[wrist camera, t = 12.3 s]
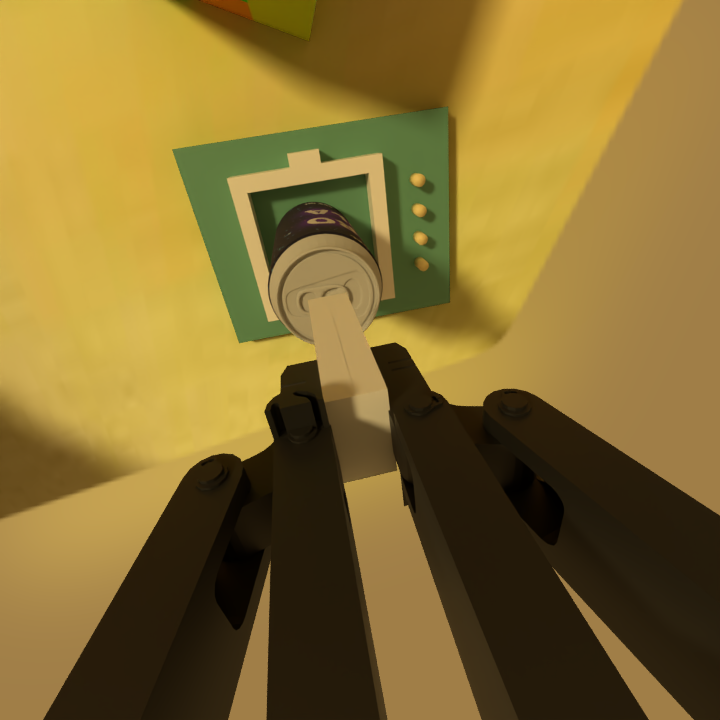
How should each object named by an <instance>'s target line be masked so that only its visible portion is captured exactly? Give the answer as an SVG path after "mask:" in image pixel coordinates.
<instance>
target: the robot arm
mask: <svg viewBox="0 0 720 720" xmlns="http://www.w3.org/2000/svg"><path fill="white" fill-rule="evenodd" d="M308 305H309V312H310V318H311V324H312V331H313V337H314V343H315V350H316V356H317V360H314V361H309V362H304V363H299V364H295V365H290V366H287V367H286V369H285V370H284V372H283V373H282V375H281V393H280V394H279V395H277V396H275V397H274V398H273V399H272V400H271V401H270V402H269V403H268V404H267V406H266V409H265V415H266V418H267V421H268V423H269V426H270V429H271V432H272V435H273V438H274V442H273V443H272V444H271V445H270V446H269V447H268V448H267V449H265V450H264V451H262V452H260V453H259V454H257V455H255V456H253V457H251V458H249V459H246V460H244V461H242V462H241V459H240V458H238V457H237V456H235V455H233V454H219V455H213V456H210V457H208V458H206V459H204V460H202V461H200V462H199V463H197V464H196V465H195V466H193V467H192V468H191V469H190V470H189V471H188V472H187V474H186V475H185V476H184V478H183V479H182V481H181V482H180V484H179V486H178V488H177V489H176V491H175V493H174V495H173V496H172V498H171V500H170V501H169V503H168V505H167V507H166V508H165V510H164V512H163V514H162V515H161V517H160V519H159V520H158V522H157V524H156V526H155V527H154V529H153V531H152V533H151V534H150V536H149V538H148V539H147V541H146V543H145V545H144V546H143V548H142V550H141V551H140V553H139V555H138V557H137V559H136V560H135V562H134V564H133V565H132V567H131V569H130V571H129V572H128V574H127V576H126V577H125V580H124V581H123V583H122V584H121V586H120V588H119V590H118V591H117V593H116V595H115V597H114V598H113V600H112V602H111V603H110V605H109V607H108V609H107V610H106V612H105V614H104V616H103V618H102V619H101V621H100V623H99V624H98V626H97V628H96V629H95V631H94V633H93V635H92V636H91V638H90V640H89V642H88V643H87V645H86V647H85V648H84V650H83V652H82V654H81V655H80V658H79V659H78V661H77V662H76V664H75V666H74V668H73V669H72V671H71V673H70V674H69V676H68V678H67V680H66V681H65V683H64V685H63V686H62V688H61V690H60V692H59V693H58V695H57V697H56V699H55V700H54V702H53V704H52V705H51V707H50V709H49V711H48V712H47V714H46V716H45V718H44V719H43V720H228V718H229V714H230V710H231V706H232V703H233V699H234V695H235V691H236V688H237V683H238V680H239V676H240V673H241V669H242V665H243V661H244V658H245V654H246V650H247V646H248V642H249V639H250V635H251V631H252V628H253V624H254V620H255V616H256V612H257V609H258V605H259V601H260V597H261V594H262V590H263V586H264V582H265V579H266V575H267V571H268V567H269V564H270V560H271V571H270V609H269V646H268V684H267V720H387V715H386V710H385V704H384V699H383V693H382V688H381V682H380V677H379V671H378V666H377V660H376V655H375V650H374V644H373V639H372V633H371V628H370V623H369V617H368V611H367V606H366V600H365V595H364V589H363V584H362V578H361V573H360V567H359V562H358V557H357V551H356V546H355V540H354V535H353V529H352V524H351V518H350V513H349V508H348V502H347V498H346V493H345V489H344V484H343V483H346V482H350V481H355V480H359V479H363V478H367V477H371V476H376V475H380V474H384V473H388V472H392V471H396V470H397V466H396V462H397V464H398V467H399V470H400V474H401V481H402V490H403V500H404V506H406V505H408V506H409V509H410V512H411V514H412V517H413V520H414V523H415V526H416V529H417V532H418V535H419V538H420V541H421V544H422V547H423V549H424V552H425V555H426V558H427V561H428V564H429V567H430V570H431V573H432V576H433V579H434V582H435V585H436V587H437V590H438V593H439V596H440V599H441V602H442V605H443V608H444V610H445V614H446V617H447V620H448V622H449V625H450V628H451V631H452V634H453V637H454V640H455V643H456V646H457V648H458V651H459V655H460V658H461V660H462V663H463V666H464V669H465V672H466V675H467V678H468V681H469V684H470V687H471V689H472V693H473V696H474V698H475V701H476V704H477V707H478V710H479V713H480V716H481V719H482V720H649V719H648V718H647V716H646V715H645V713H644V712H643V710H642V708H641V707H640V705H639V704H638V702H637V700H636V699H635V697H634V696H633V694H632V693H631V691H630V690H629V688H628V686H627V685H626V683H625V682H624V680H623V679H622V677H621V675H620V674H619V672H618V670H617V669H616V667H615V666H614V664H613V663H612V661H611V659H610V658H609V656H608V655H607V653H606V651H605V650H604V648H603V647H602V645H601V644H600V642H599V640H598V639H597V637H596V636H595V634H594V633H593V631H592V629H591V628H590V626H589V625H588V623H587V621H586V620H585V618H584V617H583V615H582V614H581V612H580V610H579V609H578V608H577V606H576V604H575V602H574V601H573V599H572V598H571V596H570V595H569V593H568V591H567V590H566V588H565V587H564V585H563V583H562V582H561V581H560V579H559V577H558V575H557V574H556V572H555V571H554V569H555V570H556V571H557V573H558V574H559V575H560V576H561V577H562V578H563V579H564V580H565V581H566V582H567V583H568V584H569V585H570V587H571V588H572V589H573V590H574V591H575V592H576V593H577V594H578V595H579V596H580V597H581V598H582V599H583V601H584V602H585V603H586V604H587V605H588V606H589V607H590V608H591V609H592V610H593V611H594V612H595V614H596V615H597V616H598V617H599V618H600V619H601V620H602V621H603V622H604V623H605V624H606V625H607V626H608V627H609V629H610V630H611V631H612V632H613V633H614V634H615V635H616V636H617V637H618V638H619V639H620V640H621V642H622V643H623V644H624V645H625V646H626V647H627V648H628V649H629V650H630V651H631V652H632V653H633V655H634V656H635V657H636V658H637V659H638V660H639V661H640V662H641V663H642V664H643V665H644V666H645V667H646V669H647V670H648V671H649V672H650V673H651V674H652V675H653V676H654V677H655V678H656V679H657V680H658V681H659V683H660V684H661V685H662V686H663V687H664V688H665V689H666V690H667V691H668V692H669V693H670V694H671V695H672V696H673V698H674V699H675V700H676V701H677V702H678V703H679V704H680V705H681V706H682V707H683V708H684V709H685V711H686V712H687V713H688V714H689V715H690V716H691V717H692V718H693V719H694V720H720V516H719V515H718V514H716V513H715V512H713V511H712V510H710V509H709V508H707V507H706V506H704V505H703V504H701V503H699V502H698V501H696V500H695V499H693V498H692V497H690V496H689V495H687V494H686V493H684V492H683V491H681V490H680V489H678V488H677V487H675V486H673V485H672V484H671V483H669V482H667V481H666V480H664V479H663V478H661V477H660V476H658V475H657V474H655V473H654V472H652V471H650V470H649V469H648V468H646V467H644V466H643V465H641V464H640V463H638V462H637V461H635V460H634V459H632V458H630V457H629V456H628V455H626V454H625V453H623V452H621V451H620V450H618V449H617V448H615V447H614V446H612V445H611V444H609V443H608V442H606V441H605V440H603V439H602V438H600V437H598V436H597V435H595V434H594V433H592V432H591V431H589V430H587V429H586V428H585V427H583V426H582V425H580V424H579V423H577V422H575V421H574V420H572V419H571V418H569V417H568V416H566V415H565V414H563V413H562V412H560V411H558V410H557V409H556V408H554V407H553V406H551V405H549V404H548V403H546V402H545V401H543V400H542V399H540V398H539V397H537V396H535V395H533V394H531V393H529V392H526V391H522V390H518V389H502V390H498V391H494V392H492V393H491V394H489V395H488V396H487V397H486V398H485V400H484V402H483V406H456V405H452V404H449V403H448V401H447V400H446V399H445V398H444V397H443V396H442V395H440V394H438V393H436V392H433V391H431V390H430V388H429V386H428V385H427V383H426V381H425V380H424V378H423V376H422V375H421V373H420V371H419V370H418V368H417V366H416V365H415V363H414V361H413V360H412V359H411V356H410V355H409V353H408V351H407V350H406V348H404V347H402V346H401V345H399V344H397V343H390V344H385V345H381V346H376V347H371V348H370V347H369V344H368V342H367V340H366V337H365V335H364V333H363V330H362V328H361V326H360V323H359V321H358V318H357V316H356V314H355V311H354V309H353V307H352V304H351V302H350V300H349V297H348V295H347V293H341V294H336V295H331V296H325V297H320V298H315V299H310V300H308ZM552 567H553V568H554V569H553V568H552Z"/></svg>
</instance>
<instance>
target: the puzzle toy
mask: <svg viewBox="0 0 720 720" xmlns="http://www.w3.org/2000/svg"><path fill="white" fill-rule="evenodd" d="M199 1H202V2H205V3H208V4H210V5H213V6H216V7H218V8H221V9H224V10H226V11H229V12H232V13H234V14H237V15H240V16H242V17H245V18H248V19H250V20H253V21H256V22H258V23H261V24H264V25H267V26H269V27H272V28H275V29H277V30H280V31H283V32H285V33H288V34H291V35H293V36H296V37H299V38H301V39H304V40H307V41H309V39H310V34H311V28H312V23H313V18H314V12H315V7H316V1H317V0H199Z"/></svg>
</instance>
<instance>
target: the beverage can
mask: <svg viewBox="0 0 720 720" xmlns="http://www.w3.org/2000/svg"><path fill="white" fill-rule="evenodd" d="M382 290H383V282H382V275H381V271H380V268H379V265H378V263H377V261H376V259H375V257H374V256H373V255H372V253H371V252H370V250H369V249H368V248H367V246H366V245H365V244H364V242H363V241H362V239H361V238H360V237H359V235H358V234H357V233H356V231H355V230H354V228H353V227H352V226H351V224H350V223H349V222H348V220H347V219H346V218H345V216H344V215H343V214H342V213H341V212H340V211H339V210H337V209H336V208H334V207H332V206H330V205H328V204H325V203H321V202H306V203H302V204H299V205H297V206H295V207H293V208H292V209H290V210H289V211H288V212H287V213H286V214H285V215H284V216H283V217H282V219H281V220H280V222H279V224H278V227H277V230H276V234H275V240H274V246H273V253H272V259H271V265H270V272H269V278H268V296H269V300H270V304H271V306H272V309H273V311H274V313H275V314H276V316H277V318H278V319H279V320H280V321H281V323H282V324H283V325H284V326H285V327H286V328H287V329H288V330H289V331H290V332H291V333H292V334H294V335H295V336H296V337H298V338H299V339H301V340H303V341H305V342H308V343H310V344H314V345H315V343H314V337H313V331H312V324H311V318H310V312H309V305H308V300H310V299H315V298H320V297H325V296H331V295H336V294H341V293H347V295H348V297H349V300H350V302H351V304H352V307H353V309H354V311H355V314H356V316H357V318H358V321H359V323H360V326H361V328H362V330H363V332H364V331H365V330H366V329H367V328H368V327H369V325H370V324H371V323H372V321H373V320H374V318H375V316H376V313H377V311H378V308H379V304H380V301H381V297H382Z"/></svg>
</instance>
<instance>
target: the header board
mask: <svg viewBox="0 0 720 720" xmlns="http://www.w3.org/2000/svg"><path fill="white" fill-rule="evenodd" d="M172 150H173V153H174V156H175V159H176V162H177V165H178V168H179V171H180V174H181V176H182V179H183V182H184V185H185V188H186V191H187V194H188V197H189V199H190V202H191V205H192V208H193V211H194V214H195V217H196V220H197V222H198V225H199V228H200V231H201V234H202V237H203V240H204V243H205V246H206V248H207V251H208V254H209V257H210V260H211V263H212V266H213V269H214V271H215V274H216V277H217V280H218V283H219V286H220V289H221V292H222V295H223V297H224V300H225V303H226V306H227V309H228V312H229V315H230V318H231V320H232V323H233V326H234V329H235V332H236V335H237V338H238V341H239V343H242V342H247V341H253V340H258V339H263V338H268V337H273V336H279V335H284V334H289V333H291V332H290V331H289V330H288V329H287V328H286V327H285V326H284V325H283V324H282V323H281V321H280V320H279V319H278V318H277V316H276V314H275V313H274V311H273V309H272V306H271V304H270V300H269V296H268V278H269V272H270V265H271V259H272V253H273V246H274V240H275V234H276V230H277V227H278V224H279V222H280V220H281V219H282V217H283V216H284V215H285V214H286V213H287V212H288V211H289V210H290V209H292V208H293V207H295V206H297V205H299V204H302V203H306V202H321V203H325V204H328V205H330V206H332V207H334V208H336V209H337V210H339V211H340V212H341V213H342V214H343V215H344V216H345V218H346V219H347V220H348V222H349V223H350V224H351V226H352V227H353V228H354V230H355V231H356V233H357V234H358V235H359V237H360V238H361V239H362V241H363V242H364V244H365V245H366V246H367V248H368V249H369V250H370V252H371V253H372V255H373V256H374V257H375V259H376V261H377V263H378V265H379V268H380V271H381V275H382V282H383V290H382V297H381V301H380V304H379V308H378V311H377V313H376V316H375V317H377V316H382V315H387V314H393V313H398V312H403V311H408V310H413V309H418V308H424V307H429V306H434V305H439V304H444V303H450V267H449V159H448V107H442V108H435V109H429V110H422V111H416V112H410V113H403V114H397V115H390V116H384V117H378V118H371V119H365V120H358V121H352V122H345V123H339V124H333V125H326V126H320V127H313V128H307V129H301V130H294V131H288V132H281V133H275V134H269V135H262V136H256V137H249V138H243V139H237V140H230V141H224V142H217V143H211V144H204V145H198V146H192V147H185V148H179V149H172Z"/></svg>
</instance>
